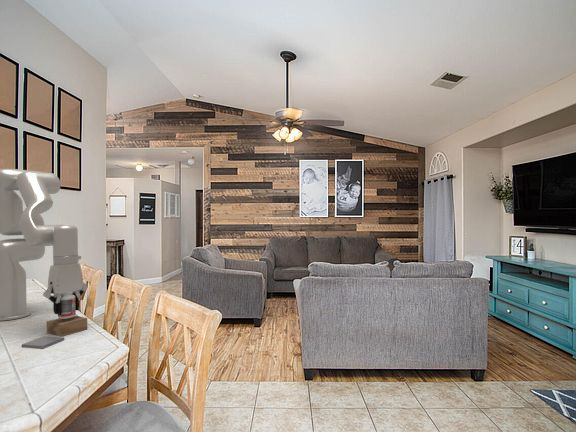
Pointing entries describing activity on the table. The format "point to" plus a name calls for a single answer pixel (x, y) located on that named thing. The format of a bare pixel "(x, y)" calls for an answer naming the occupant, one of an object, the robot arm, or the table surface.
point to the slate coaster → (43, 342)
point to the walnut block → (66, 325)
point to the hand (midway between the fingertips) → (66, 311)
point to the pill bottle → (67, 306)
